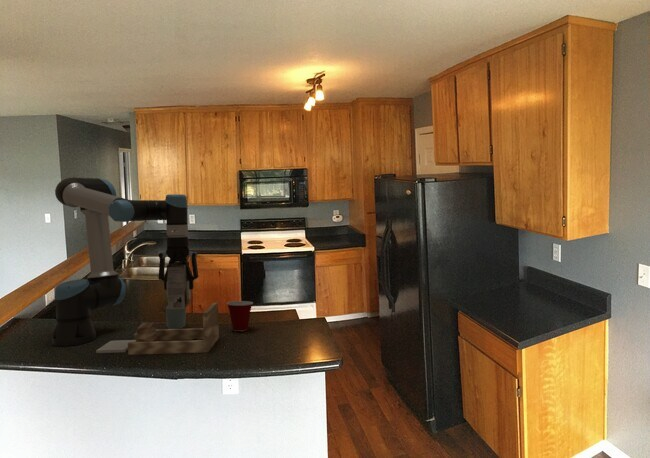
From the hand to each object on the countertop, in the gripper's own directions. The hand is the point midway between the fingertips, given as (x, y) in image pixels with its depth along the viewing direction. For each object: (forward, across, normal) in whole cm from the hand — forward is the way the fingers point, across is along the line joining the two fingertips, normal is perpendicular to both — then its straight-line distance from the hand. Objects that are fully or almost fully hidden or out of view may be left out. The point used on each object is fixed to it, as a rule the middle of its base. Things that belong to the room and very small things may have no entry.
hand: (179, 298), depth 166 cm
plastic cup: (+18, +19, +19) cm, 32 cm away
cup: (+18, -9, +24) cm, 31 cm away
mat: (+18, -23, 0) cm, 29 cm away
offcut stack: (+18, -13, 0) cm, 22 cm away
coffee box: (+3, 0, 0) cm, 3 cm away
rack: (+18, -2, 0) cm, 18 cm away
